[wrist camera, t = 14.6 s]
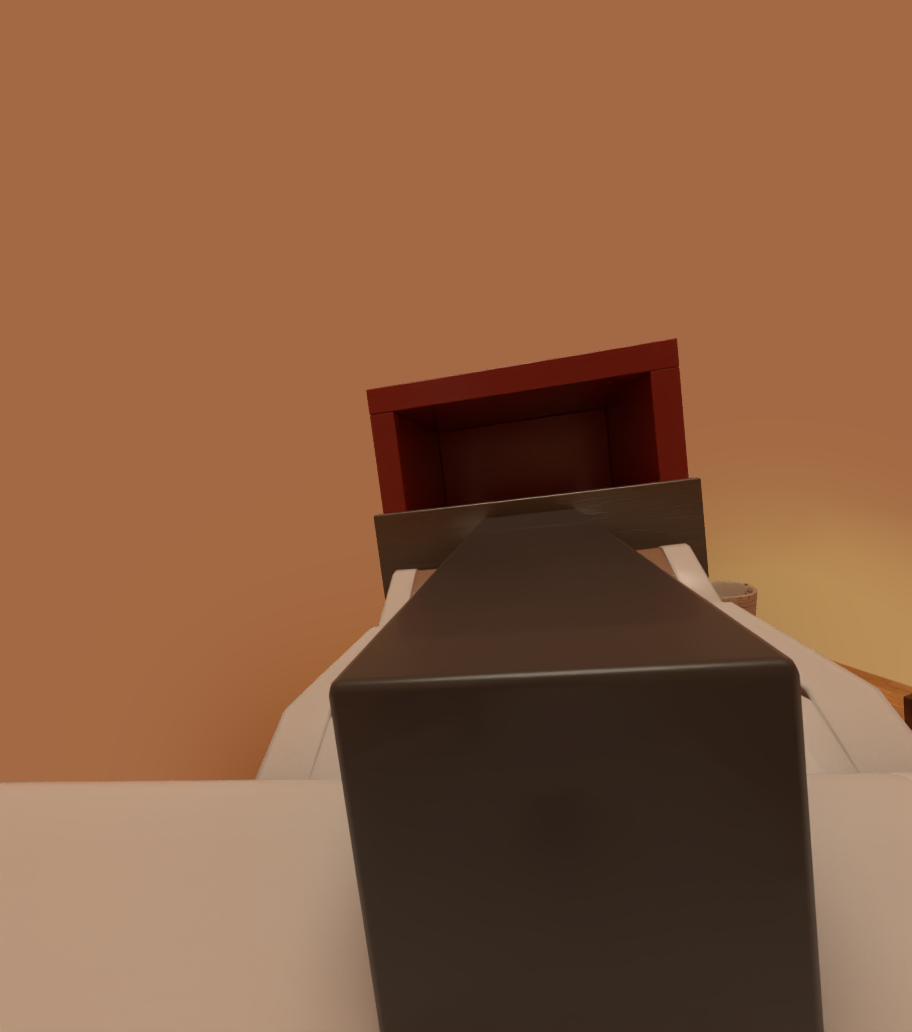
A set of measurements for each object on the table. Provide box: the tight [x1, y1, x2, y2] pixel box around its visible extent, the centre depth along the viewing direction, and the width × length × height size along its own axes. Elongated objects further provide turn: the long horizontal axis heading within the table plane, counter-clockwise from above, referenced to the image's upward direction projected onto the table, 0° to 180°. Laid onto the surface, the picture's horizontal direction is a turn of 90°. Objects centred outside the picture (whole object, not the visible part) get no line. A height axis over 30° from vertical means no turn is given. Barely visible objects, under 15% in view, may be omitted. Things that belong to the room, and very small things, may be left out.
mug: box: [710, 581, 757, 616], centre depth 62 cm, size 8×13×10 cm, turn 73°
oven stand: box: [366, 338, 689, 514], centre depth 27 cm, size 12×14×34 cm
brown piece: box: [329, 478, 824, 1032], centre depth 13 cm, size 21×10×4 cm, turn 171°
